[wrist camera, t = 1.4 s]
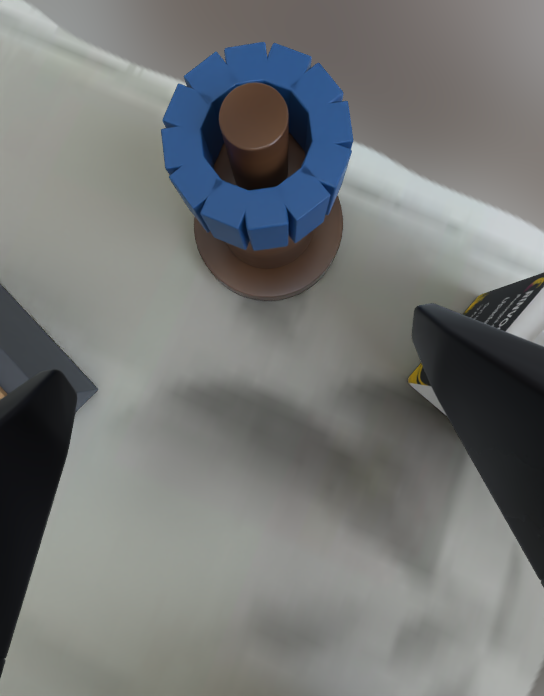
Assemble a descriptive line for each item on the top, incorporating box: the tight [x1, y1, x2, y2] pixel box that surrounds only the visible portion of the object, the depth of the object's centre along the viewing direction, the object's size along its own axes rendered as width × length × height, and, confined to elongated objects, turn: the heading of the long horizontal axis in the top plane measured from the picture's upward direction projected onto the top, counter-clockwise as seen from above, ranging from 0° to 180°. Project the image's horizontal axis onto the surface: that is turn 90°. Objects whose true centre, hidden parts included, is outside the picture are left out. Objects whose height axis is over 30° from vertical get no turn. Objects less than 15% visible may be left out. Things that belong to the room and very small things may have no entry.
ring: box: [161, 42, 353, 251], centre depth 14 cm, size 7×7×2 cm
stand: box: [194, 83, 343, 301], centre depth 17 cm, size 9×9×10 cm
